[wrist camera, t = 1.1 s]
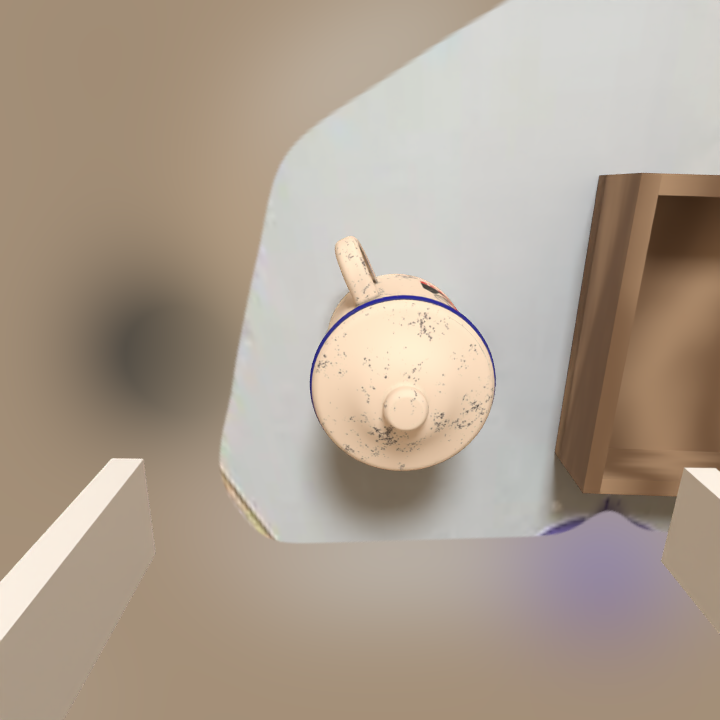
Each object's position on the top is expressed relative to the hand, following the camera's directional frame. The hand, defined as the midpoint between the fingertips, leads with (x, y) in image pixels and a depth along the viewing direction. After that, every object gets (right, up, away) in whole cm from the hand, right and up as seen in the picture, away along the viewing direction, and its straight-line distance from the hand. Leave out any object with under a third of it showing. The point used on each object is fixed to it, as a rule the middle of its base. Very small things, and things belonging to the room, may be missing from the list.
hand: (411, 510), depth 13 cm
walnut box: (+22, +6, +20) cm, 31 cm away
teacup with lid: (0, +6, +21) cm, 22 cm away
